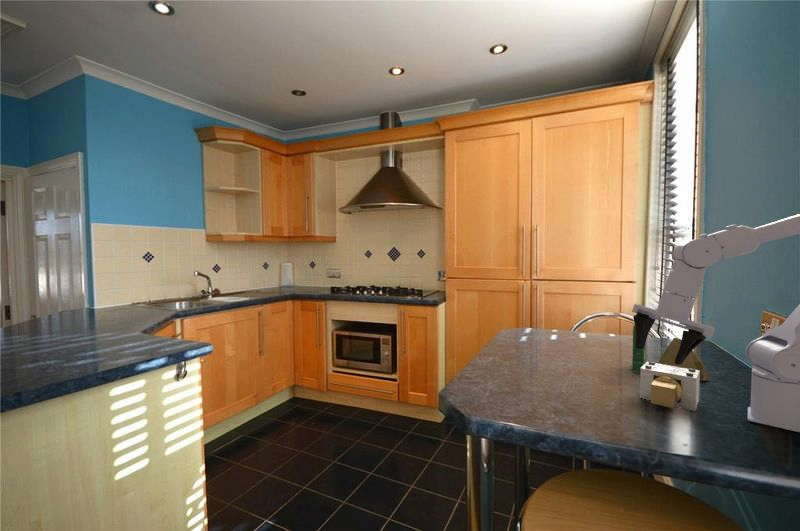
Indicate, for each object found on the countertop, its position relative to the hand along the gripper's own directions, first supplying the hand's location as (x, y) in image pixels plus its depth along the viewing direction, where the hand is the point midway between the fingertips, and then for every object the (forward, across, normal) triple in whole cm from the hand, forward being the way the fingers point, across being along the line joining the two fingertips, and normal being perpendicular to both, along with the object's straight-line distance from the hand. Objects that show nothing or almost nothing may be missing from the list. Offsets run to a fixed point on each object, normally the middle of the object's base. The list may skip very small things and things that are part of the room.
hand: (657, 355), depth 80 cm
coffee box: (+10, -13, +27) cm, 32 cm away
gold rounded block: (+10, +3, +5) cm, 12 cm away
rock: (+8, -4, +30) cm, 32 cm away
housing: (+10, +2, +9) cm, 13 cm away
